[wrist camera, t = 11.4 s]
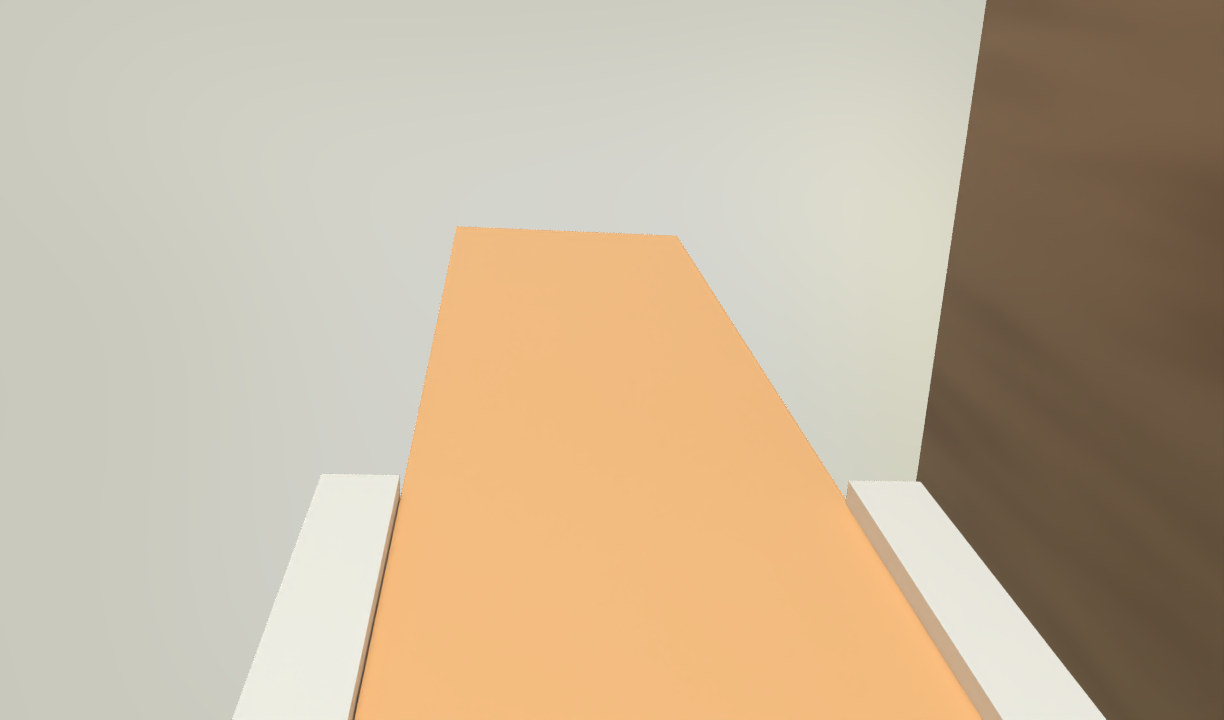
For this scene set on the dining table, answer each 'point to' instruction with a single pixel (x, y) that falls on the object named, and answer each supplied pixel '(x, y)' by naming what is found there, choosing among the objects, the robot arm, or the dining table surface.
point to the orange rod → (625, 514)
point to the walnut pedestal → (1093, 343)
